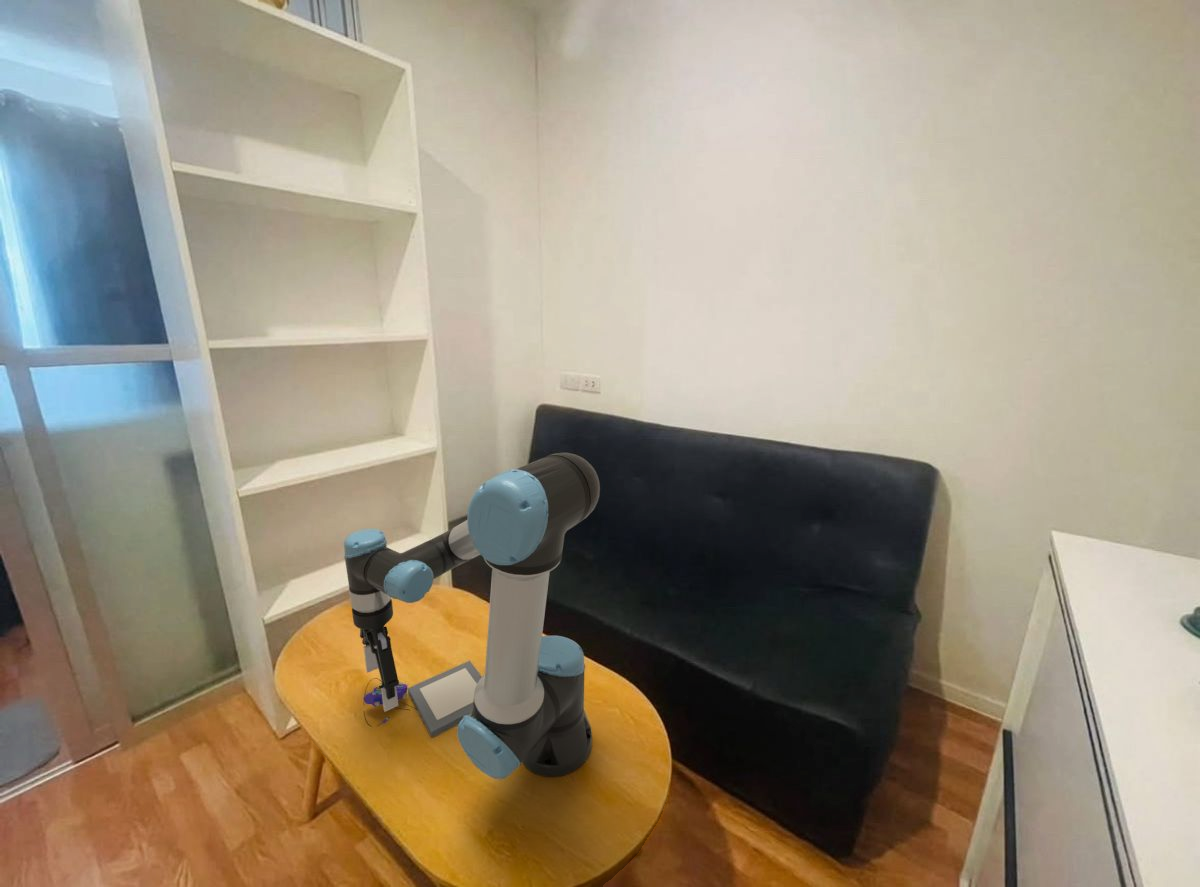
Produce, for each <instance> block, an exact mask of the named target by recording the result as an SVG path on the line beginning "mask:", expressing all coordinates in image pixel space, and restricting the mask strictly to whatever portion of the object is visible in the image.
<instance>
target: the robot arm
mask: <svg viewBox="0 0 1200 887" xmlns="http://www.w3.org/2000/svg"><path fill="white" fill-rule="evenodd" d="M600 486H601V485H600V480H599V476H598V474H597V471H596V470H595V468H594V467H593V465H592V464H590V463H589V462H588V460H586V459H585V458H584V457H581V456H580V455H578V454H574V453H569V452H558V453H556V452H555V453H552V454H549V455H546V456H544V457H542V458H539V459H536V460H535V461H532V462H530V463H528V464H525V465H522V466H520V467H518V468H515V469H508V470H505V471H502V472H501V473H498V474H497V475H495V476H493V478H491V479H488V480H487V481H485V482H484V483H483V484H481V485H480V486H479V487H478V488H477V489H476V491H475V492H474V493H473V495H472V497H471V499H470V502H469V504H468V509H467V519H465V520H464V521H463V522H461V523H459V524H457V525H455V526H454V527H451V528H450V529H448V530H447V531H445V532H443V533H441V534H439V535H437V536H435V537H433V538H431V539H429V540H427V541H424V542H422V543H420V544H418V545H416V546H414V547H412V548H409V549H407V550H406V551H404V552H398V551H396V550H393V549H392V548H389V547H388V546H387V543H388V542H387V539H386V534H385V533H384V532H383V531H382V530H381V529H376V528H375V529H374V528H367V529H362V530H357V531H355V532H353V533H351V534H349V535H347V537H346V538H345V539H344V543H343V545H344V546H343V547H344V555H343V557H344V561H345V566H346V568H345V569H346V574H347V581H348V592H349V601H350V607H351V612H352V614H351V615H352V621H353V625H354V626H355V627H357V628H358V629H360V630H359V637H360V639H362V642H361V643H362V645H363V654H364V662H365V668H366V673H370V672H373V671H375V670H378V672H379V676H380V680H381V681H382V682H381V683H380V685H379V686H378V687H379V689H381V691H382V699H383V705H382V706H383V711H384V712H387V711H389V710H392V709H395V708H394V707H396V708H397V707H399V702H398V701H399V700H398V698H397V688H396V686H397V685H399V683H400V681H399V677H398V673H397V668H396V664H395V663H396V662H395V659H394V655H393V650H392V643H391V637H390V636H389V635H388V634H389V631H388V628H387V626H386V624H388V623H389V622H390V621H391V620H392V618H393V616H394V609H393V600H392V599H395V600H398V601H401V602H403V603H406V604H413V603H417V602H420V601H421V600H422V599H424V598H425V596H426V594H427V593H429V592H430V591H431V589H432V587H433V583H434V580H436V579H438V578H440V577H441V576H442V575H443V574H445V573H448V572H449V571H451V570H453V569H454V568H457V567H459V566H460V565H462V564H465V563H466V562H467V563H468V562H469V561H471V560H472V559H474V558H477V557H478V556H482V557H483V560H484V561H485V563H486V564H487V565H488V566H489V567H490V568H491V570H492V571H491V583H490V595H489V596H490V597H489V608H488V609H489V610H488V624H487V639H486V640H487V641H486V655H485V667H484V675H483V676H482V678H481V679H480V680H479V682H478V683H477V685H476V688H475V692H474V702H473V709H472V711H471V712H470V713H469V714H468V715H465V716H464V717H463V719H462V720H461V721H460V722H459V724H458V725H457V728H456V733H457V739H458V742H459V744H460V747H461V749H462V750H463V752H464V753H465V754H466V756H467V757H468V759H469V760H470V761H471V763H472V764H473V765H474V766H475V767H476V768H477V769H479V770H480V771H481V772H482V773H484V774H485V775H486V776H487V777H490V778H491V779H494V780H495V779H497V780H498V779H499V780H503V779H506V778H508V777H509V776H510V775H511V774H512V773H513V772H514V771H515V770H516V769H518V768H519V767H520V766H521V763H522V764H523V765H524V766H525V767H526V768H527V769H528V770H529V771H531V772H532V773H534V774H536V775H538V776H543V777H548V778H549V777H551V778H552V777H553V778H556V777H562V776H566V775H568V774H572V773H573V772H575V771H576V770H578V769H579V768H580V767H582V766H583V765H584V763H585V762H586V761H587V759H588V758H589V756H590V754H591V751H592V747H593V746H592V744H593V732H592V727H591V724H590V722H589V719H588V717H587V714H586V711H585V671H586V663H585V654H584V651H583V649H582V647H581V646H580V645H579V644H578V643H577V642H576V641H574V640H573V639H570V638H568V637H565V636H563V635H562V636H561V635H543V631H544V622H545V615H546V614H545V613H546V606H547V596H548V589H549V588H548V587H549V580H550V579H549V578H550V572H551V571H553V570H555V569H556V568H557V567H558V565H560V563H561V561H562V558H563V557H562V555H563V550H564V549H563V548H564V542H565V534H566V533H567V531H569V530H570V529H572V528H574V527H575V526H577V525H578V524H580V523H581V522H582V521H583V520H585V519H587V518H588V516H590V514H591V513H592V512H593V511H594V510H595V508H596V506H597V504H598V502H599V498H600V491H601V487H600Z"/></svg>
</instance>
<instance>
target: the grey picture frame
mask: <svg viewBox="0 0 1200 887" xmlns="http://www.w3.org/2000/svg"><path fill="white" fill-rule="evenodd" d="M482 677H483V676H482V675H481V673H480V672H479V671H478V669H477V668H476V667H475V665H474V664H473V663H472V662H471V660H468V661H466V662H464V663H461V664H459V665H456V666H455V667H454V666H453V667H451V668H449V669H447V670H445V671H442V672H441V673H439V674H437V675H434V676H432V677H429V678H427V679H425V680H423V681H421V682H418V683H417V684H414V685H411V686H408V687H407V693H408V694H407V695H408V696H409V698H410V699H411V701H412V703H413V705H414V708H416V709H417V710H416V709H415V710H416V711H417V712H418V714H419V716H420V718H421V721H422V722H423V723H424V726H425V727H426V730H427V731H428V733H429V735H430V737H431V738H432V739H433V738H434V737H437V736H439V735H440V734H443V733H444V732H446V731H448V730H449V729H452V728H453V727H455V726H458V724H459V722H460V721H461V720H462V719H463V717H464V716H465V715H468V714H469V713H470V712H471V711H472V709H473V702H474V692H475V688H476V685H477V683H478V682H479V680H480V679H481V678H482Z"/></svg>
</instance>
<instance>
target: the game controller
mask: <svg viewBox="0 0 1200 887" xmlns="http://www.w3.org/2000/svg"><path fill="white" fill-rule="evenodd" d="M375 679H377V680H378V681H380V682H381V683H382V680H381V678H378V677H373V678H372V679H370V681H369V682H368V683H367V685H366V687H365V690H364V695H363V703H364V704H367V705H371V706H373V707H375V708H376V707H378V706H383V699H382V691H381V689H379V686H376V687H374V688H373V690H372V691H371V692H367V689H368V685H369V684H370V682H371V681H372V680H375ZM396 688H397V698H398V703H400V704H403V705H406V706H408V707H411V708H413V709H415V710H416V711H417V709H416V707H415V706H412V705H409V704H406V703H403V702H401V700H402V699H405V698H406V697H407V695H408V694H407V693H408V688H409V686H408V685H407V684H405V683H403V682H402V681H401V682H400V681H399V685H397V686H396ZM366 692H367V693H366ZM393 709H398V710H402V708H401V707H397V706H396V707H394V708H393ZM403 710H406V711H410V709H407V708H403ZM363 715H364V721H365V722H366V724H367V725H368V726H369V727H373V726H372V725H370V724H369V723H368V721H367V719H366V714H365V712H363ZM389 720H390V717H389V716H387V717H386V718H384V719H383V720H382V722H381V723H379V724H377V725H376V727H379V726H380V725H382V724H385V723H386V722H387V721H389Z"/></svg>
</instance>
